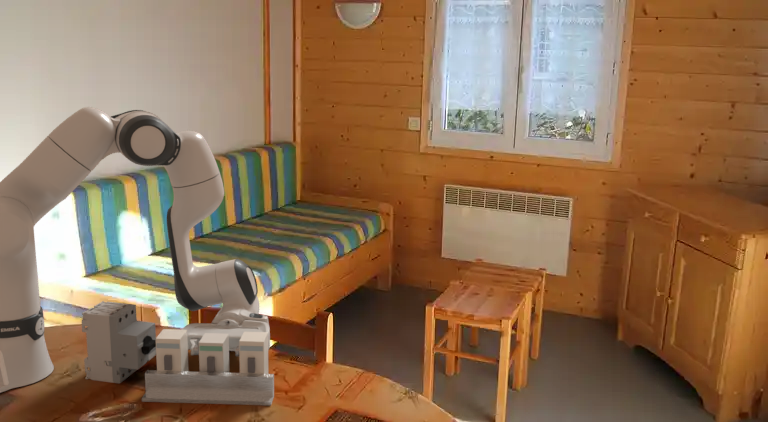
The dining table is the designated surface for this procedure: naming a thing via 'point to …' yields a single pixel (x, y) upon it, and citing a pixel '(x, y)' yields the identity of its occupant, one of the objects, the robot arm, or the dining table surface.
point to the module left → (172, 350)
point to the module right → (254, 352)
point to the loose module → (214, 353)
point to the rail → (209, 387)
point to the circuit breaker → (116, 341)
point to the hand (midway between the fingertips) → (216, 352)
